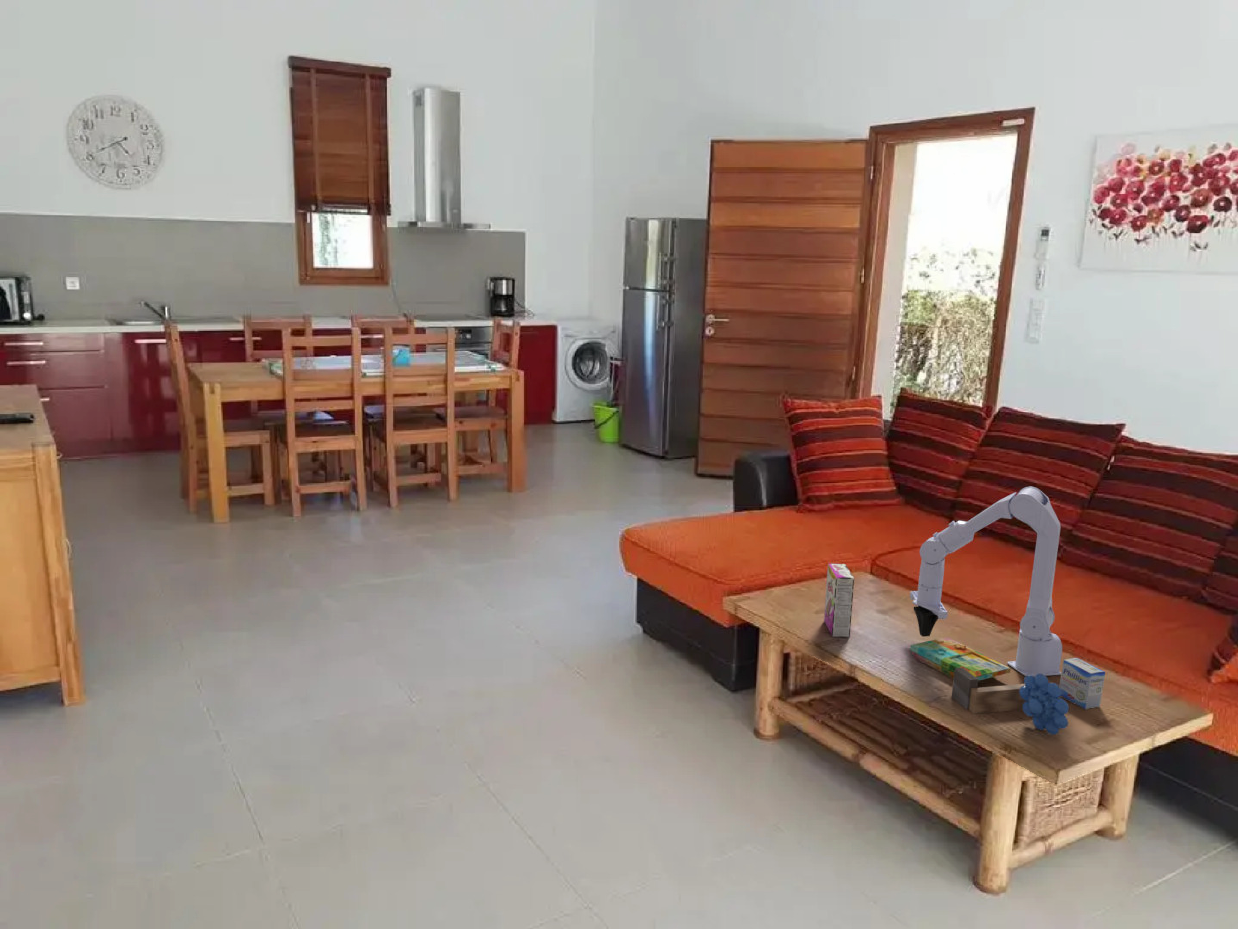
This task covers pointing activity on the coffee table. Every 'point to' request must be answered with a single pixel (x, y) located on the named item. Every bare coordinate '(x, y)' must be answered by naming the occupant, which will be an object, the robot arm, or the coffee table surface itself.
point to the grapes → (1044, 703)
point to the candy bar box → (839, 600)
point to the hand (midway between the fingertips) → (924, 635)
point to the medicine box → (1081, 683)
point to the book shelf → (984, 694)
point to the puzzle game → (957, 658)
